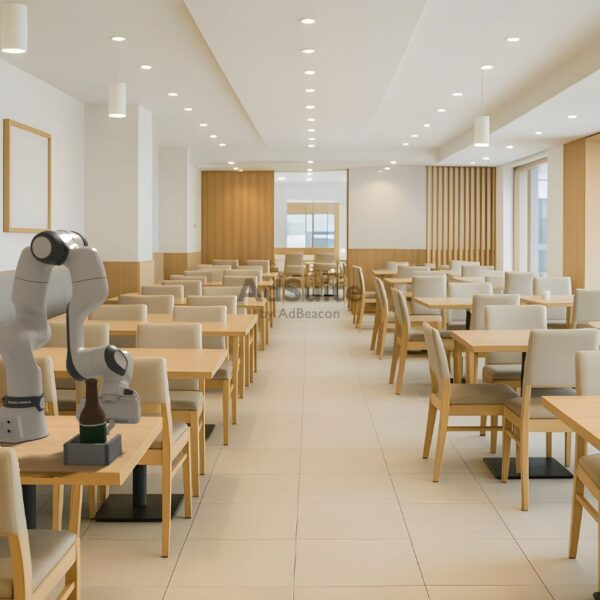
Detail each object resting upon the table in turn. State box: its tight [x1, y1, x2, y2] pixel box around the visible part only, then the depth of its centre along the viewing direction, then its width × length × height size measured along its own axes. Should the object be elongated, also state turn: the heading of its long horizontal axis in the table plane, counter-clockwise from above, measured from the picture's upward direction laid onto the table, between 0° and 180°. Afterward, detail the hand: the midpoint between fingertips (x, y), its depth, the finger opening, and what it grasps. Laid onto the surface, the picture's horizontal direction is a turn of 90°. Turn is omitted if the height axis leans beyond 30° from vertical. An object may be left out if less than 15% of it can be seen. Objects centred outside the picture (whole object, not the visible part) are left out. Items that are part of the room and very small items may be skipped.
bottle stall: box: [62, 433, 123, 466], centre depth 237 cm, size 13×12×6 cm
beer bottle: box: [78, 377, 108, 444], centre depth 237 cm, size 8×8×24 cm
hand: (103, 433), depth 247 cm, fingers closed
